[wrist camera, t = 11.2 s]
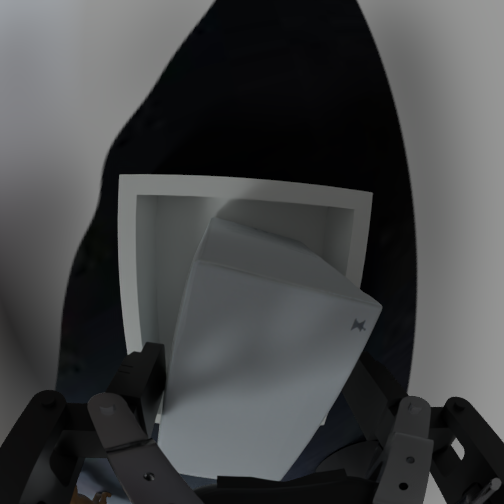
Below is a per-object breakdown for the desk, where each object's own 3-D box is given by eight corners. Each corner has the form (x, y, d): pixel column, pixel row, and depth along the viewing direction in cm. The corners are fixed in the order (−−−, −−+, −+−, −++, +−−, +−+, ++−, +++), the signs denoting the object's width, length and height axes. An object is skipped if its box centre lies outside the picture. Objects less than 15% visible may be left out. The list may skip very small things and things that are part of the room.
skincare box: (205, 214, 17) (189, 254, 7) (302, 240, 18) (394, 303, 8) (173, 355, 19) (151, 473, 9) (256, 371, 20) (285, 485, 10)
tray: (338, 190, 19) (372, 192, 14) (308, 385, 22) (323, 424, 17) (147, 177, 17) (119, 174, 13) (154, 380, 21) (141, 420, 16)
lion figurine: (135, 505, 26) (127, 546, 18) (115, 505, 27) (105, 544, 18) (61, 453, 23) (40, 497, 14) (45, 455, 23) (25, 495, 15)
